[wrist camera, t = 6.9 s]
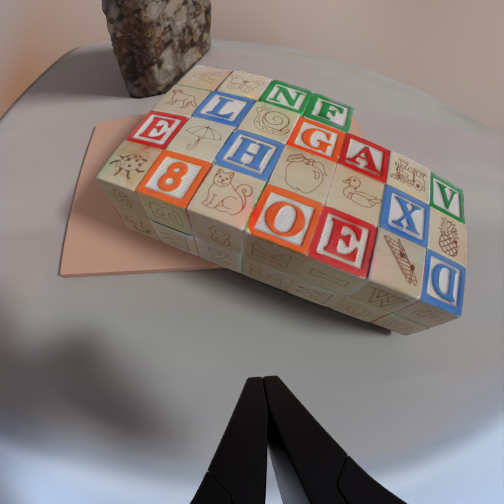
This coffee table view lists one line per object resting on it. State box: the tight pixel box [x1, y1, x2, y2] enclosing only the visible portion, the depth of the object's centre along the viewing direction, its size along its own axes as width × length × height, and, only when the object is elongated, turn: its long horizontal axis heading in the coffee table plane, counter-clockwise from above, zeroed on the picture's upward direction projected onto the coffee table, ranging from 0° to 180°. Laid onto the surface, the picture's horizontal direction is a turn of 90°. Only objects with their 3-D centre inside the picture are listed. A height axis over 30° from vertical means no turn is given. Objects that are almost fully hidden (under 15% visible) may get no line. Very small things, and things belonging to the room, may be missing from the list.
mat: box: [60, 114, 364, 277], centre depth 22 cm, size 16×26×1 cm, turn 95°
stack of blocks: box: [96, 65, 467, 335], centre depth 18 cm, size 21×6×12 cm
